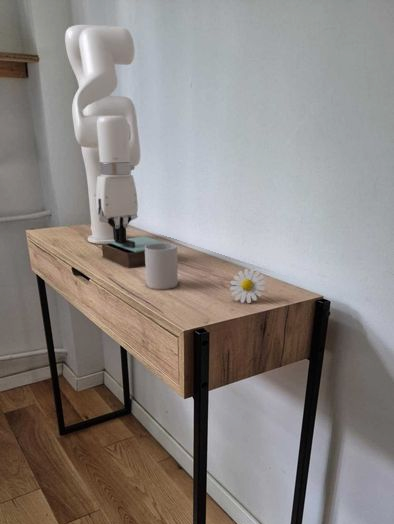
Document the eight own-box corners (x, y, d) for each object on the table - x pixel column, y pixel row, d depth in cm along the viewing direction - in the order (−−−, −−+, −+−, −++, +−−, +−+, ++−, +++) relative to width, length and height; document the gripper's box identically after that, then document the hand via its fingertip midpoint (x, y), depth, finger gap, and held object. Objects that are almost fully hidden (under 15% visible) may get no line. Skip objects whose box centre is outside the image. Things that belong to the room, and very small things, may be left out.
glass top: (109, 243, 136) (108, 235, 135) (144, 238, 142) (144, 231, 141) (135, 252, 125) (135, 244, 124) (172, 246, 131) (172, 239, 131)
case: (102, 257, 136) (101, 244, 134) (138, 251, 142) (137, 239, 141) (128, 268, 125) (127, 254, 124) (165, 261, 132) (165, 248, 130)
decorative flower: (226, 253, 109) (262, 269, 96) (243, 270, 112) (280, 287, 100) (205, 280, 109) (238, 299, 97) (222, 296, 113) (256, 316, 100)
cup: (152, 291, 107) (150, 251, 103) (139, 279, 115) (137, 242, 112) (182, 287, 110) (181, 248, 106) (167, 276, 118) (166, 239, 114)
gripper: (133, 168, 129) (137, 237, 136) (81, 170, 121) (88, 244, 128) (148, 169, 123) (151, 241, 131) (94, 172, 115) (101, 249, 123)
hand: (120, 242), depth 129 cm, fingers closed
